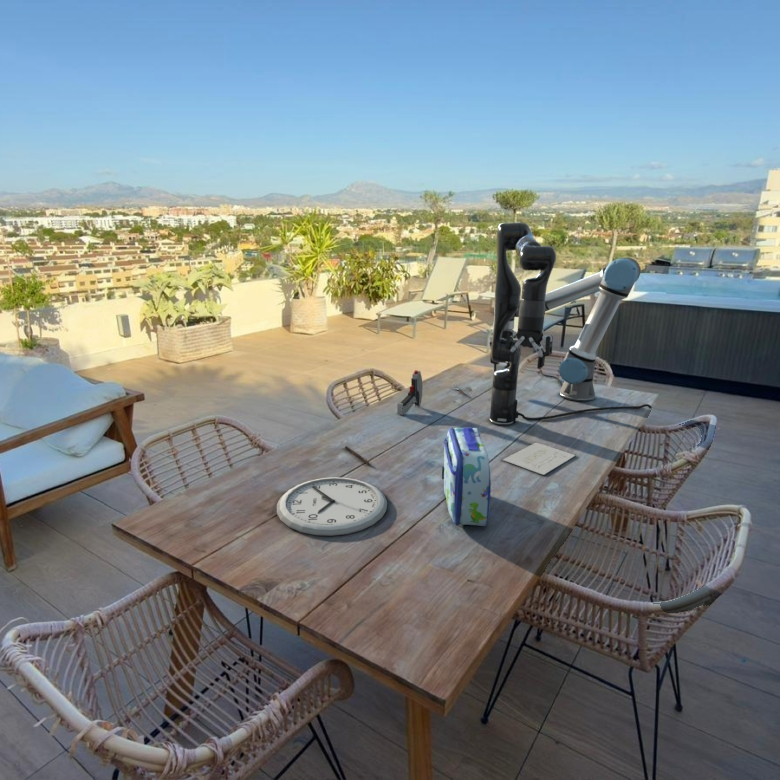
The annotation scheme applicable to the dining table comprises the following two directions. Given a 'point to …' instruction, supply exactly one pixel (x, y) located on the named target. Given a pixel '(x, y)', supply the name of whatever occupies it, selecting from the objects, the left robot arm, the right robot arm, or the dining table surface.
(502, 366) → the brick
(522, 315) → the left robot arm
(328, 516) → the wall clock
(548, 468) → the invitation card
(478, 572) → the dining table surface
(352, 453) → the brown stick
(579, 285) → the right robot arm
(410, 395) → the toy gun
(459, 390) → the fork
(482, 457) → the lunch box
